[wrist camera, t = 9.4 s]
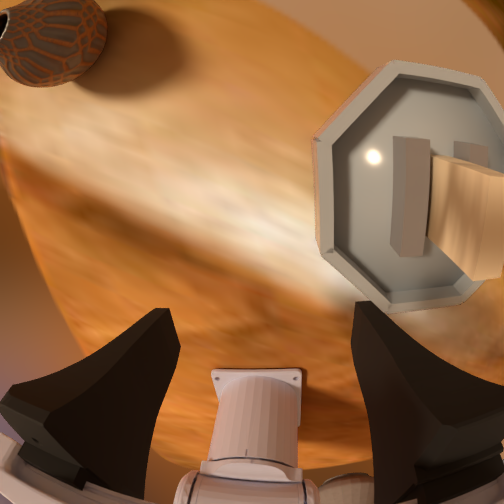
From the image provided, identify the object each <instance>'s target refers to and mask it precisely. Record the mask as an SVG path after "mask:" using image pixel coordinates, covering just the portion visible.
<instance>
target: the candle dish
mask: <svg viewBox="0 0 504 504" xmlns="http://www.w3.org/2000/svg"><path fill="white" fill-rule="evenodd" d="M313 137H314V138H315V139H311V141H312V157H313V175H314V198H315V236H316V241H317V244H318V248H319V251H320V254H321V257H323V258H324V259H325V260H326V261H327V262H328V263H329V264H331V265H332V266H333V267H334V268H335V269H336V270H337V271H339V272H340V273H341V274H342V275H343V276H344V277H345V278H346V279H347V280H349V281H350V282H351V283H352V284H353V285H354V286H355V287H356V288H357V289H359V290H360V291H361V292H362V293H363V294H364V295H365V296H366V297H367V298H368V299H370V300H371V301H372V302H373V303H374V304H375V305H376V306H377V307H378V308H379V309H380V310H382V311H383V312H384V313H387V314H393V313H401V312H410V311H418V310H426V309H433V308H440V307H447V306H454V305H460V304H461V303H462V302H463V303H464V302H465V301H466V300H467V299H468V298H469V297H470V296H471V295H472V294H473V293H474V292H475V291H476V290H477V289H478V288H479V287H480V286H481V285H482V284H483V283H484V281H485V280H479V281H472V280H471V279H470V278H469V277H468V276H467V275H466V274H465V273H464V272H463V271H462V270H461V269H460V268H459V267H458V266H457V265H456V264H455V263H454V262H453V261H452V260H451V259H450V258H449V257H448V256H447V255H446V254H445V253H444V252H443V251H442V250H441V249H440V248H439V247H437V246H436V245H435V244H434V243H433V242H432V241H431V240H430V239H429V238H428V237H427V236H425V233H426V224H427V213H428V201H429V184H430V154H431V155H444V156H450V157H454V158H457V159H461V160H464V161H467V162H471V163H474V164H477V165H480V166H483V167H486V168H489V169H492V170H495V171H498V172H500V173H503V174H504V110H503V108H502V107H501V105H500V104H499V102H498V101H497V99H496V97H495V96H494V94H493V93H492V91H491V90H490V88H489V87H488V85H487V84H486V82H485V81H484V79H481V77H478V76H474V75H471V74H467V73H463V72H459V71H455V70H450V69H446V68H441V67H436V66H431V65H425V64H420V63H414V62H407V61H400V60H393V61H390V62H388V63H386V64H384V65H382V66H380V67H378V68H377V69H376V70H375V71H374V72H373V73H372V74H371V75H370V76H369V77H368V78H367V79H366V80H365V81H364V82H363V83H362V84H361V85H360V86H359V87H358V88H357V89H356V90H355V91H354V93H353V94H352V95H351V96H350V97H349V98H348V99H347V100H346V101H345V102H344V103H343V104H342V105H341V106H340V107H339V108H338V109H337V110H336V112H335V113H334V114H333V115H332V116H331V117H330V118H329V119H328V120H327V121H326V122H325V123H324V124H323V125H322V127H321V128H320V129H319V130H318V131H317V132H316V133H315V134H314V135H313Z"/></svg>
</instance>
